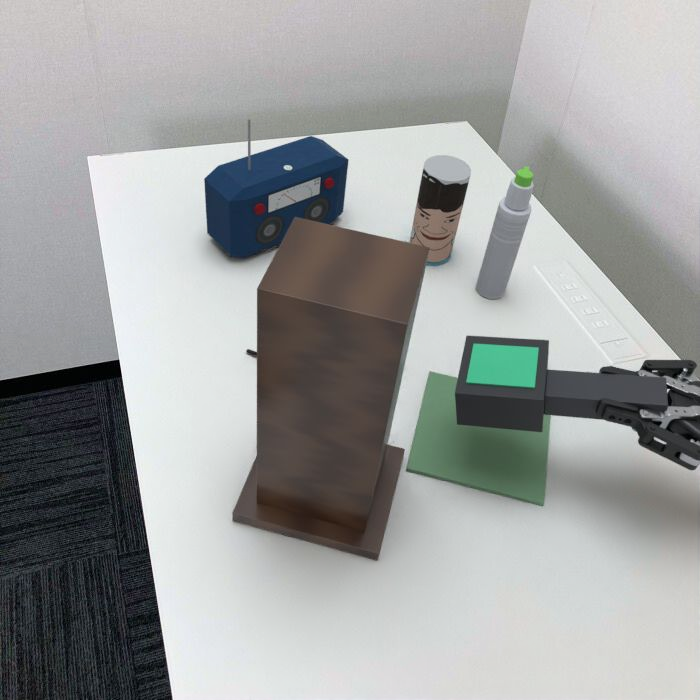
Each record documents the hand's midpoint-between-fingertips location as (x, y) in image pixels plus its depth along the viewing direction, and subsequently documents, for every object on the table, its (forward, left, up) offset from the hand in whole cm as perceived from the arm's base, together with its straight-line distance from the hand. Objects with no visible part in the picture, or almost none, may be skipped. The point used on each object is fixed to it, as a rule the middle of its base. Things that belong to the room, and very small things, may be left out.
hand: (599, 390), depth 77 cm
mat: (+7, +7, -14) cm, 17 cm away
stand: (+4, +28, -14) cm, 32 cm away
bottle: (+32, -5, -14) cm, 35 cm away
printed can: (+42, +1, -14) cm, 44 cm away
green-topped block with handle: (+2, +3, -3) cm, 5 cm away
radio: (+51, +23, -14) cm, 57 cm away
